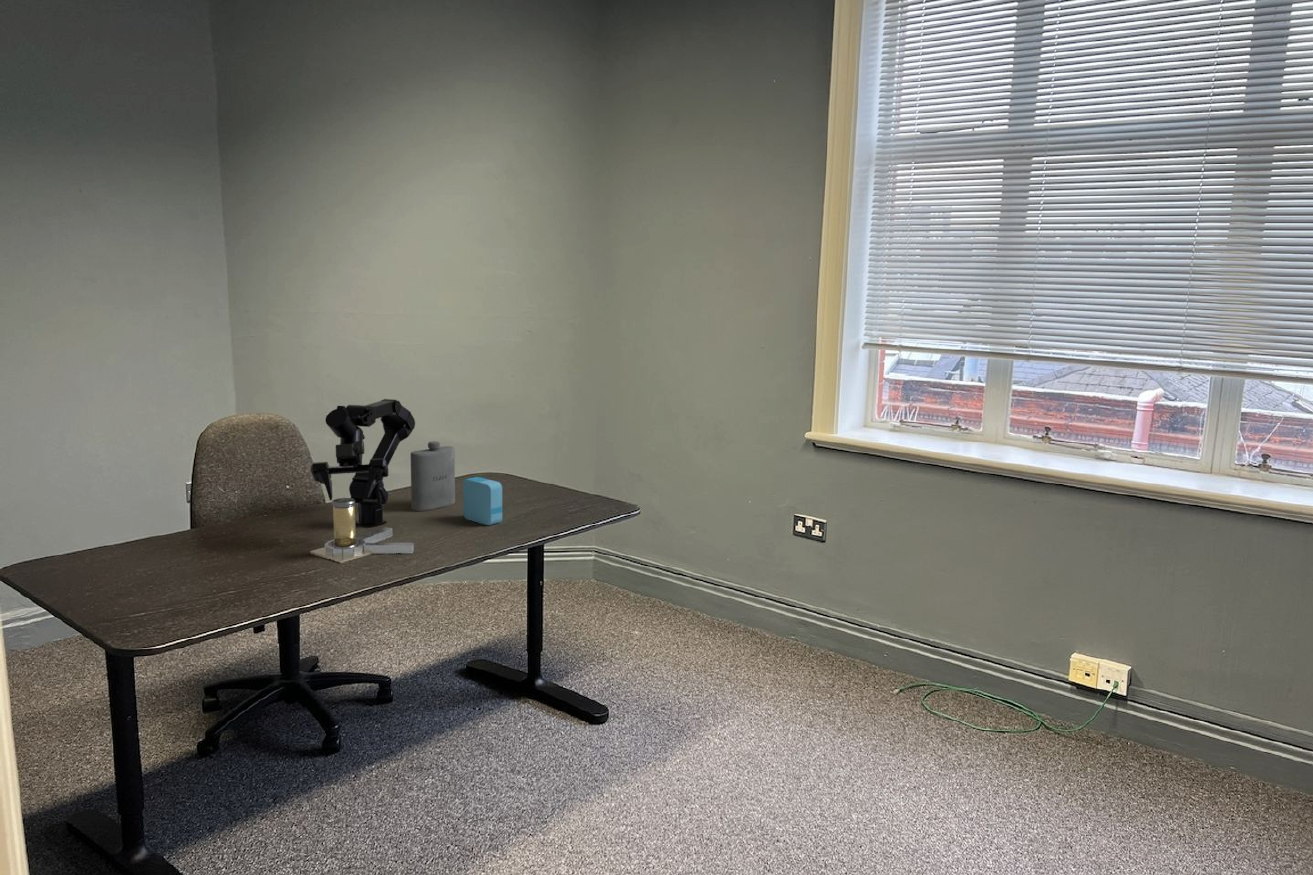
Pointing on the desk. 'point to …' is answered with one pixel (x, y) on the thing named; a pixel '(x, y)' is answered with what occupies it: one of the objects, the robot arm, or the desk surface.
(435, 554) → the desk surface
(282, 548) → the desk surface
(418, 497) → the flask
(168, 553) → the desk surface
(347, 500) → the glass jar
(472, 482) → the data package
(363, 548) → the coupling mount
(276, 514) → the desk surface
